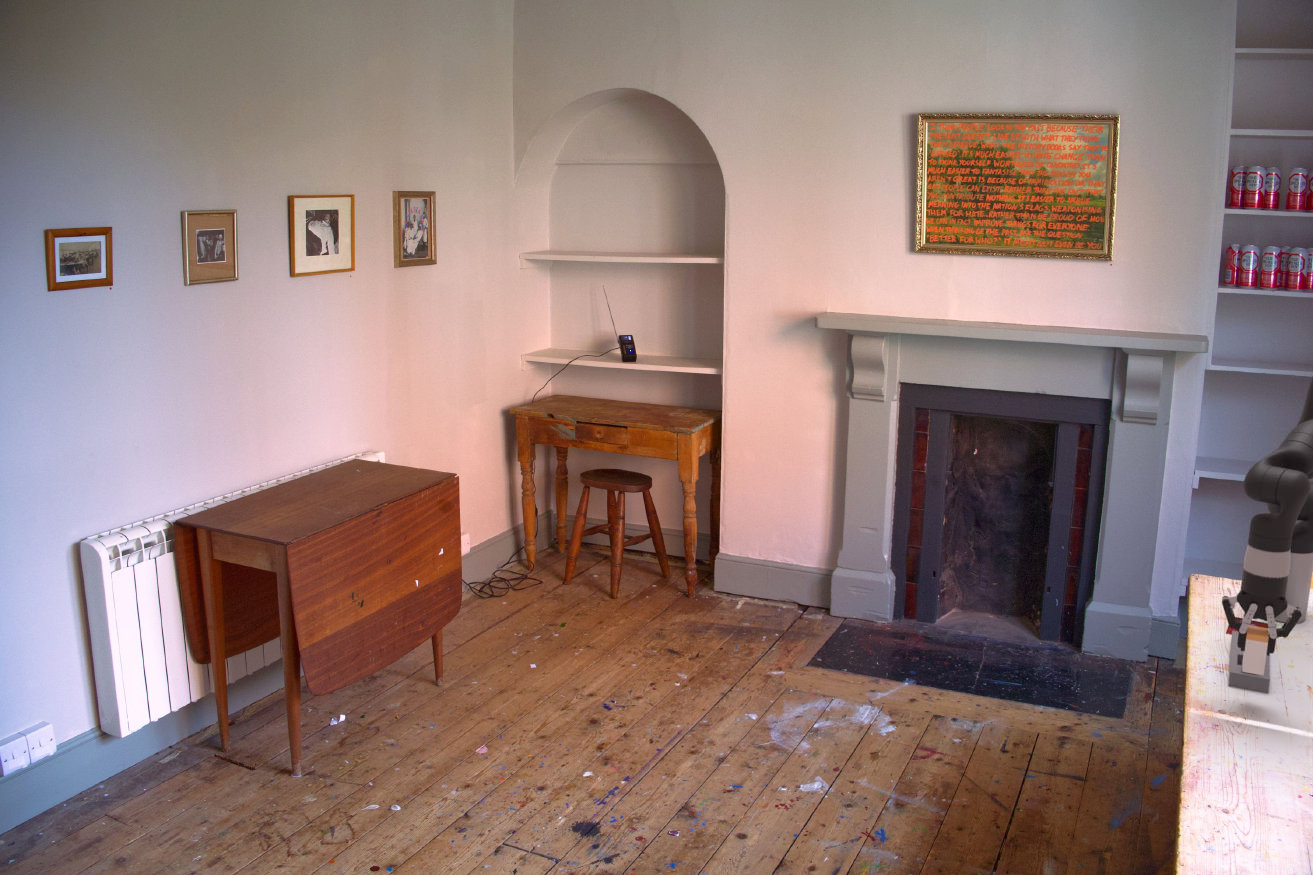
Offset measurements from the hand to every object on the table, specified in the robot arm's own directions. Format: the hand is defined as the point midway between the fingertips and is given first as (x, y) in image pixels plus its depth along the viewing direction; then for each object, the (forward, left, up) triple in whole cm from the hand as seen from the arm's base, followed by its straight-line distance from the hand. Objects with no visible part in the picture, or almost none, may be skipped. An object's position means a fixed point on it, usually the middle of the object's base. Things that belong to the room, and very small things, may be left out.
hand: (1255, 651), depth 202 cm
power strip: (-17, -4, -12) cm, 21 cm away
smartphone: (-37, -9, -13) cm, 40 cm away
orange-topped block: (0, 0, -4) cm, 4 cm away
